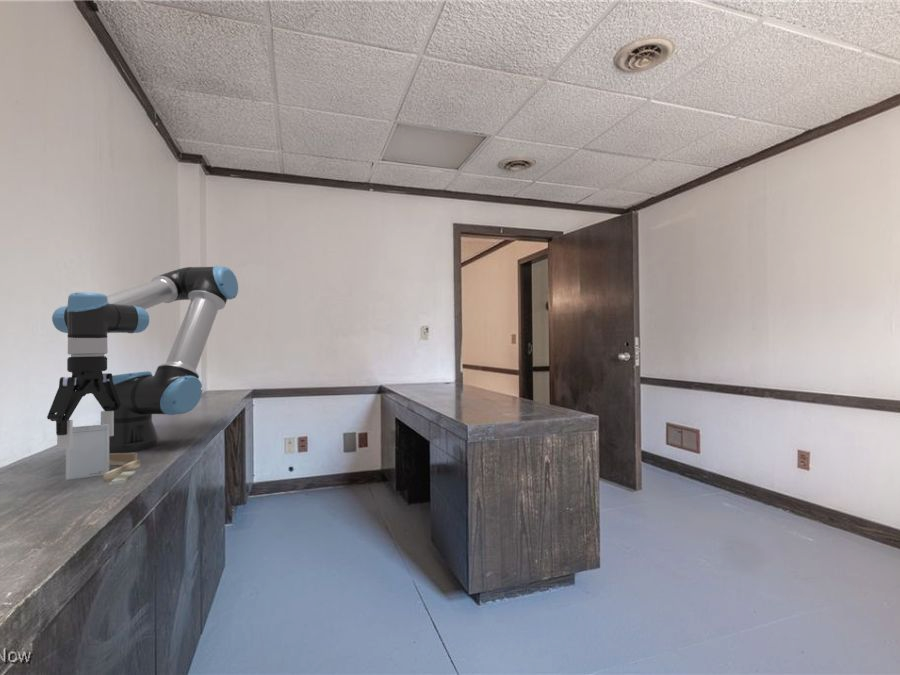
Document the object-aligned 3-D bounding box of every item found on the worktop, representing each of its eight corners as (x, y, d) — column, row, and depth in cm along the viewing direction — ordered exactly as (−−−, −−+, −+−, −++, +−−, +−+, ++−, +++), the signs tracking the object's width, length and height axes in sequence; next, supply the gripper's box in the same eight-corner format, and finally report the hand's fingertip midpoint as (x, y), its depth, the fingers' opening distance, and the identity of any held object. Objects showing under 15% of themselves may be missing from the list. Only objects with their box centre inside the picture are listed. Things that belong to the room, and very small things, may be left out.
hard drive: (108, 475, 106) (108, 425, 106) (64, 480, 102) (64, 428, 102) (109, 473, 107) (109, 423, 107) (67, 478, 103) (67, 427, 103)
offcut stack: (124, 476, 106) (124, 471, 106) (138, 475, 107) (138, 470, 107) (108, 487, 98) (108, 481, 98) (124, 486, 99) (124, 480, 99)
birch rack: (97, 465, 115) (97, 453, 115) (148, 463, 116) (148, 452, 116) (48, 484, 99) (48, 471, 99) (108, 482, 100) (108, 469, 100)
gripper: (107, 354, 117) (107, 431, 117) (25, 357, 92) (24, 455, 92) (136, 354, 118) (136, 431, 117) (62, 357, 93) (62, 454, 92)
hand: (87, 442), depth 104 cm, fingers open, 13 cm apart
